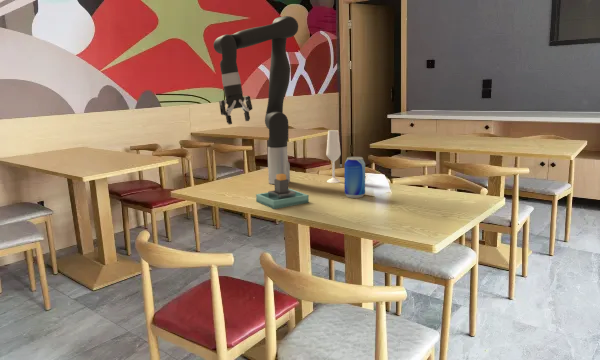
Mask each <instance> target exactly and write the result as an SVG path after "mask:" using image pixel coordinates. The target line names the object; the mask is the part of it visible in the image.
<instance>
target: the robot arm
mask: <svg viewBox="0 0 600 360" xmlns="http://www.w3.org/2000/svg"><path fill="white" fill-rule="evenodd" d="M297 32H299V24H298V21H297V19H296V18H295V17H292V16H291V15H290V16H288V15H286V16H285V15H284V16H279V17H278V16H277V17H276V18H274V20H273V21H272V23H271V24H270V23H269V24H266V25H262V26H256V27H251V28H246V29H242V30H240V31H237V32H235V33H233V34H232V33H231V34H228V33H227V34H223V35H220V36H218V37H217V38H216V39H215V40H213V41H214V42H213V49H214V50H215V52H216V53H217V54H220V55H221V60H220V62H219V68H220V72H221V82H222V87H223V91H224V92H223V94H224V97H225V99H222V100H221V99H220V100H219V101H218V103H219V109H220V115H222V116H224V117H225V119H226V123H227V125H232V124H233V121H232V116H231V114H232V111H233V110H236V109H241V110H242V111H243V112H244V113H243V115H244V120H245V122H249V121H250V119H251V116H250V112H251V111H252V110H253V104H252V100H251V97H250V95H245V96H243V92H244V91H243V88H242V81H241V77H240V74H239V69H238V68H239V67H238V64H237V59H238V57H237V56H238V50H239V49H245V48H249V47H252V46H255V45H258V44H261V43H264V42H268V41H271V52H270V53H271V54H270V56H271V57H270V67H269V76H268V77H269V78H268V80H269V81H268V94H267V95H268V97H267V99H268V100H267V106H266V111H265V117H264V124H265V126H266V129H268V140H267V173H268V184H271V185H275V184H274V179H276V175H277V174H285V175H286V179H288V183H290V182H291V176H290V175H291V173H290V171H291V170H290V169H291V168H290V162H289V160H288V159H289V158H288V157H289V156H288V141H289V120H288V117H287V115H286V114H285V113H284V112H283V111H284V100H285V97H286V94H287V92H288V89H289V83H290V78H291V65H290V62H289V59H288V55H287V49H286V48H287V40H288V38H290V39H291V38H293V37H294V36H295V35H296V34H297ZM226 105H227V106H226Z"/></svg>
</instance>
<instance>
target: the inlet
mask: <svg viewBox="0 0 600 360" xmlns="http://www.w3.org/2000/svg"><path fill="white" fill-rule="evenodd" d="M268 195H269V198H270V199H272V200H280V199H286V198H291V197H296V192H294V191H291V190H289V193H284V194H278V193H275V189H274V190H269V191H268Z"/></svg>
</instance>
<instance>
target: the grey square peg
mask: <svg viewBox="0 0 600 360" xmlns="http://www.w3.org/2000/svg"><path fill="white" fill-rule="evenodd" d="M273 185H274V190H275V193H278V194H284V193H289V189H290V188H289V182H288V179H286V175H285V174H277V175H276V179H274V184H273Z"/></svg>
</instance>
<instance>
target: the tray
mask: <svg viewBox="0 0 600 360" xmlns="http://www.w3.org/2000/svg"><path fill="white" fill-rule="evenodd" d="M289 190H291V191H294V192H296V197H291V198H286V199H280V200H272V199H270V198H269V195H268V192H262V193H256V194H255V197H256V198H255V200H256V203H259V204H261V205H264V206H265V207H268V208H271V209H272V210H276V209H280V208H281V209H282V208H288V207H291V206H298V205H302V204H308V203H309V202H310V201H309V200H310V199H309V194H306V193H304V192H300V191H297V190H294V189H291V188H289Z"/></svg>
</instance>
